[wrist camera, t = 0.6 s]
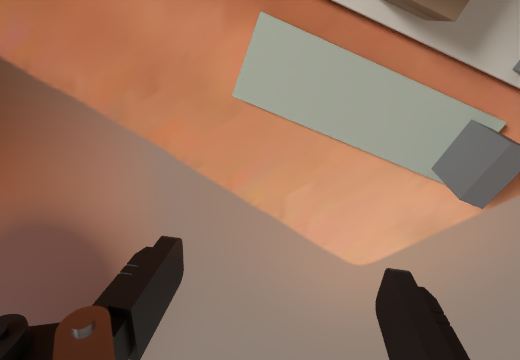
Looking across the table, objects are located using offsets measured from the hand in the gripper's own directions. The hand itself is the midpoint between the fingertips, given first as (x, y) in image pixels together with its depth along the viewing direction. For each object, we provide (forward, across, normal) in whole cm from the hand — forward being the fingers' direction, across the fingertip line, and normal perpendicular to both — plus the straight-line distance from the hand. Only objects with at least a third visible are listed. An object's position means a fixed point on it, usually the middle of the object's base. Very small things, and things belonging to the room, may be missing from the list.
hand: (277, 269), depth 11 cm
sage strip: (+22, -7, -4) cm, 23 cm away
